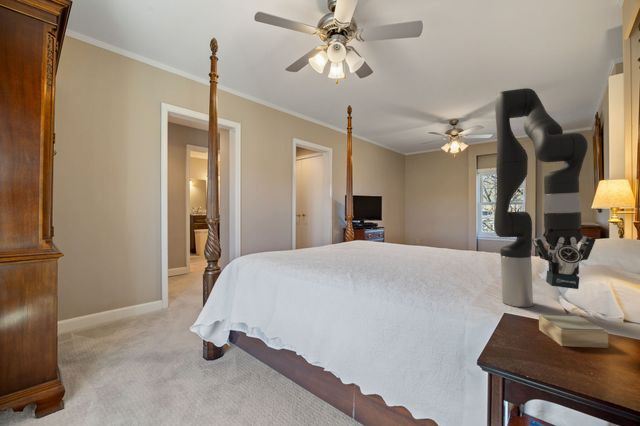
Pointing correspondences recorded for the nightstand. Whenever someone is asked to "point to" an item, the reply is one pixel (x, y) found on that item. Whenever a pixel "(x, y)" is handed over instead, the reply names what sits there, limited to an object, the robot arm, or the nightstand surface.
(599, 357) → the nightstand surface
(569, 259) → the watch
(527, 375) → the nightstand surface
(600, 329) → the oak riser
